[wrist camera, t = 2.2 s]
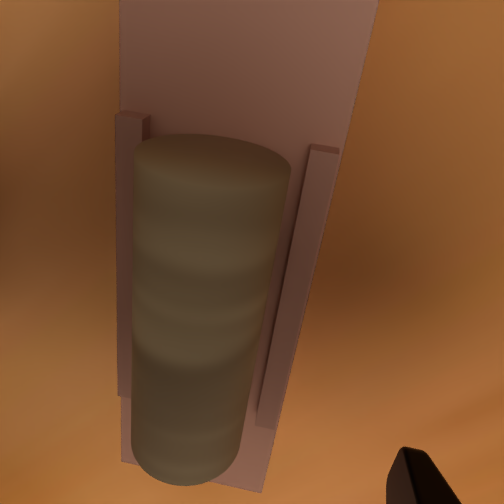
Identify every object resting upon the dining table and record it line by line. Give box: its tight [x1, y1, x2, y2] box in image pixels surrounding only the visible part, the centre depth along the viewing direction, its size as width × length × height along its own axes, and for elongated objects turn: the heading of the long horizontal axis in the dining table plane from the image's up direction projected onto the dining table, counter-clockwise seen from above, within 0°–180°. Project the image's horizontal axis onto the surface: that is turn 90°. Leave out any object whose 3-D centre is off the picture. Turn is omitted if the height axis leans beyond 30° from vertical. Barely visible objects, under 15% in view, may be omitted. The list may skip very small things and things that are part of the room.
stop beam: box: [115, 0, 379, 493], centre depth 14 cm, size 16×5×4 cm, turn 172°
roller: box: [131, 134, 291, 486], centre depth 11 cm, size 8×3×3 cm, turn 173°
